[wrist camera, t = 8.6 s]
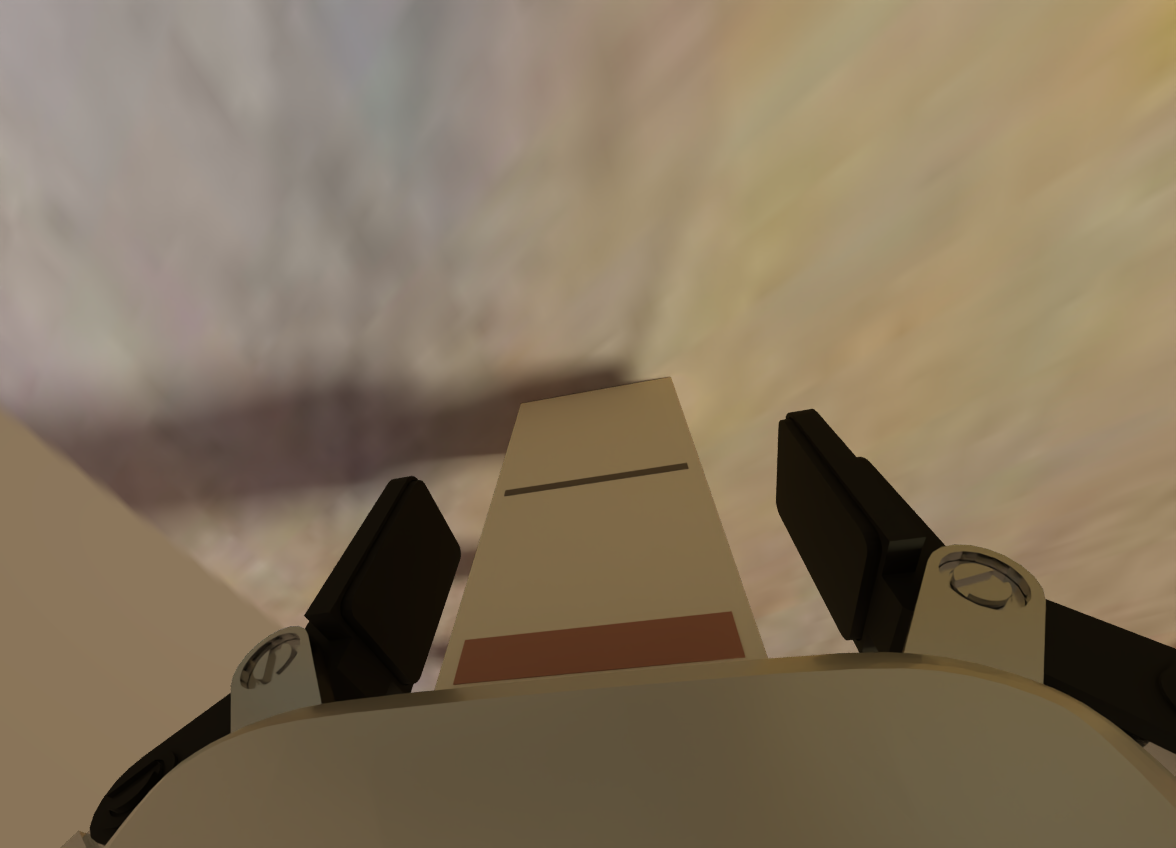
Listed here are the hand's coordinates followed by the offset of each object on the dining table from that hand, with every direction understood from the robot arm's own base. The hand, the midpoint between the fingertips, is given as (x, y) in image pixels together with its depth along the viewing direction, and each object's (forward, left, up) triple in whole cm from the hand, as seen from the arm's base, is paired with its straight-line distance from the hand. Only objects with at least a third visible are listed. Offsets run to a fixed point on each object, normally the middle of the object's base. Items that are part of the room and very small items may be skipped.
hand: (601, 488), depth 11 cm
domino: (0, 0, -4) cm, 4 cm away
